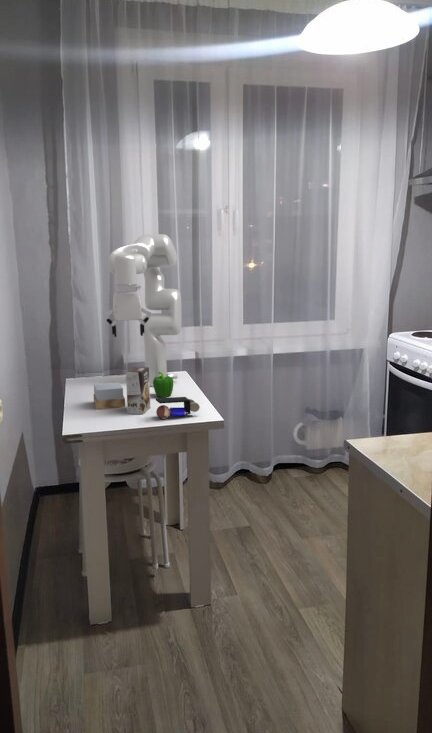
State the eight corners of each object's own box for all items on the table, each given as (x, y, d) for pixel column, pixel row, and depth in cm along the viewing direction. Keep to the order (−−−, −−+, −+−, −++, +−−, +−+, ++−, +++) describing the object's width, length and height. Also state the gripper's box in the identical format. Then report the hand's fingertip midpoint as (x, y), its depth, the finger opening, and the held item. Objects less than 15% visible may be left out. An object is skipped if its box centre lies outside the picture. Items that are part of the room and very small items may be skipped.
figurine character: (192, 415, 217) (153, 416, 211) (194, 395, 216) (155, 395, 210) (198, 420, 211) (158, 421, 205) (200, 400, 210) (160, 400, 204)
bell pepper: (175, 397, 237) (175, 373, 235) (156, 399, 234) (155, 375, 232) (171, 392, 245) (170, 369, 243) (152, 394, 242) (151, 371, 240)
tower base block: (121, 401, 234) (121, 391, 234) (125, 408, 224) (124, 398, 223) (94, 403, 231) (93, 393, 231) (96, 411, 221) (96, 400, 220)
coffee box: (143, 414, 214) (141, 372, 211) (127, 413, 215) (125, 371, 212) (151, 407, 223) (149, 366, 219) (135, 407, 224) (133, 366, 221)
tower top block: (119, 392, 233) (118, 382, 232) (123, 398, 224) (122, 388, 223) (94, 394, 230) (93, 384, 229) (97, 400, 221) (96, 390, 220)
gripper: (149, 287, 215) (151, 333, 219) (102, 289, 212) (104, 335, 216) (151, 289, 208) (152, 336, 212) (102, 290, 205) (104, 338, 208)
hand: (128, 335), depth 214 cm, fingers open, 9 cm apart
